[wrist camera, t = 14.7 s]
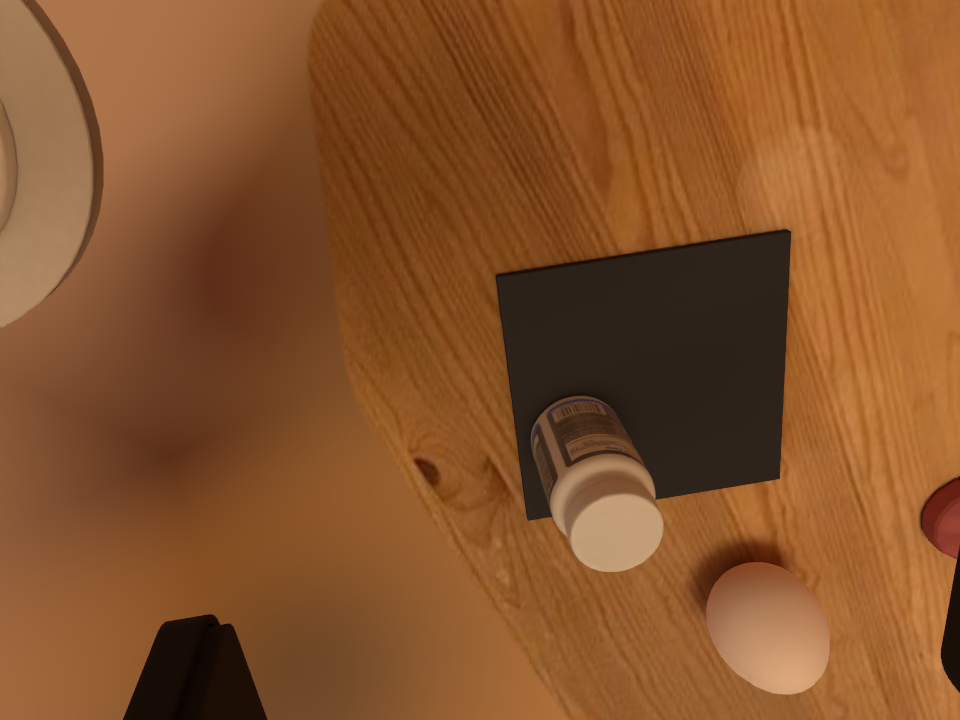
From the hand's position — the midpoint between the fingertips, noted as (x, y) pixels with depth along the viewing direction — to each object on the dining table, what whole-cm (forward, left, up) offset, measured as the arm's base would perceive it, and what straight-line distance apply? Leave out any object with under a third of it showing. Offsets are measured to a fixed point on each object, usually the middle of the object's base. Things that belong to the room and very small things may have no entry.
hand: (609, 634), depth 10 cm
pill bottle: (+4, -13, -26) cm, 29 cm away
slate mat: (+8, -11, -26) cm, 30 cm away
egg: (+13, -25, -26) cm, 39 cm away
